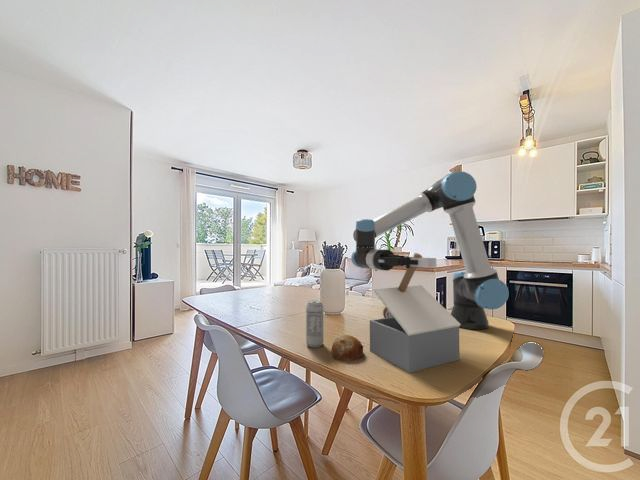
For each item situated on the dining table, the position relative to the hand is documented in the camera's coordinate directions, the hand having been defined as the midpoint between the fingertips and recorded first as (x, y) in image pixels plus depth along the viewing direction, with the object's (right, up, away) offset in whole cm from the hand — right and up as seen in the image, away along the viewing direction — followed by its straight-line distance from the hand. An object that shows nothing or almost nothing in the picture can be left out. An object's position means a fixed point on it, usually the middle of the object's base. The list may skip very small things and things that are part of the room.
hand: (431, 262), depth 82 cm
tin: (+3, -31, +43) cm, 53 cm away
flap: (-3, -15, +6) cm, 16 cm away
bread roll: (-24, -30, +7) cm, 39 cm away
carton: (-3, -30, +6) cm, 31 cm away
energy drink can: (-35, -30, +16) cm, 48 cm away
